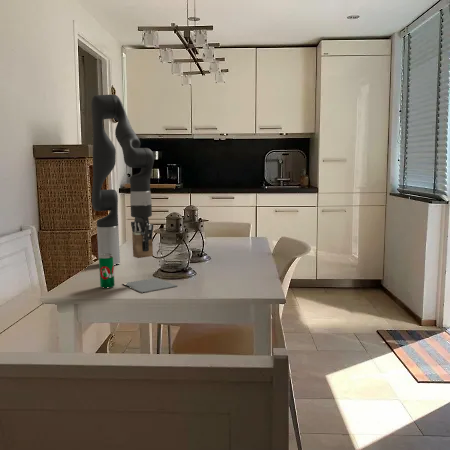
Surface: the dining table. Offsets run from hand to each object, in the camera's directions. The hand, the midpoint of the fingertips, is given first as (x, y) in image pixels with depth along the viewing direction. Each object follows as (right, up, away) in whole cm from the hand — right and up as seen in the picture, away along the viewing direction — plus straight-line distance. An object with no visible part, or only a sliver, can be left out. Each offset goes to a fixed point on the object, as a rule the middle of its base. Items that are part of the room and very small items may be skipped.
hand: (142, 250), depth 176 cm
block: (0, -2, 0) cm, 2 cm away
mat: (+3, -13, -2) cm, 13 cm away
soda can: (-12, -13, -3) cm, 18 cm away
